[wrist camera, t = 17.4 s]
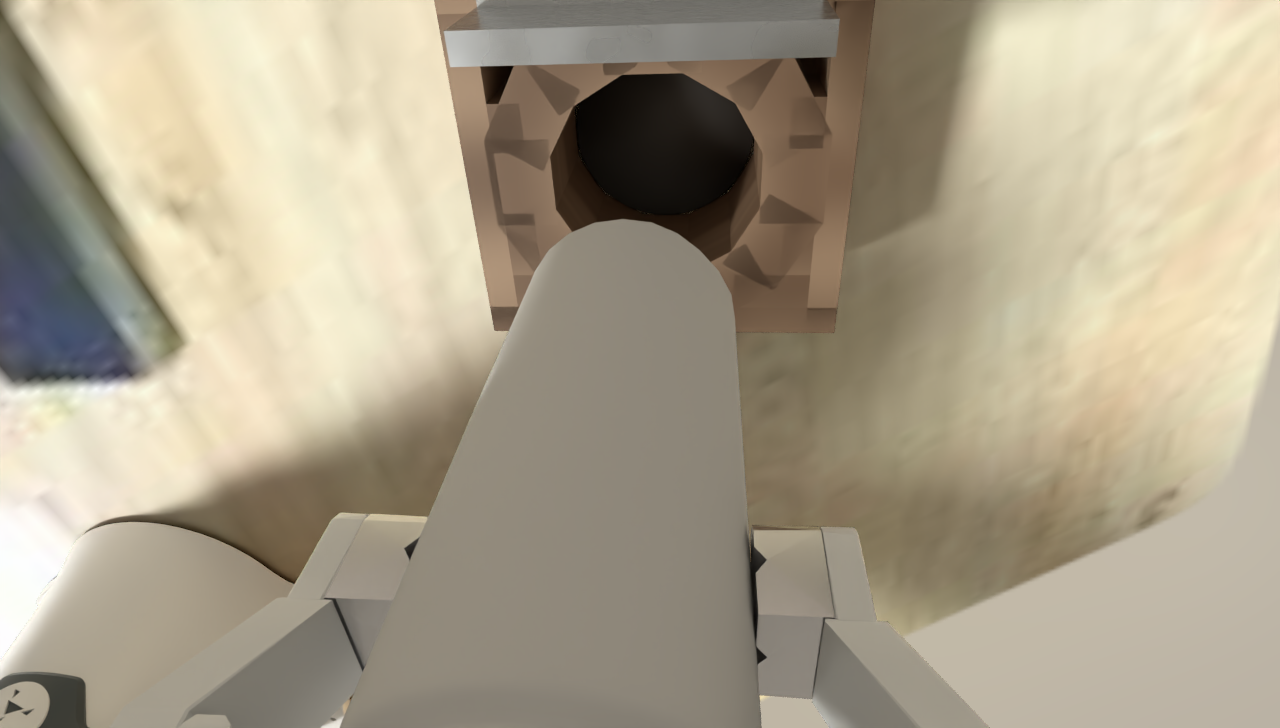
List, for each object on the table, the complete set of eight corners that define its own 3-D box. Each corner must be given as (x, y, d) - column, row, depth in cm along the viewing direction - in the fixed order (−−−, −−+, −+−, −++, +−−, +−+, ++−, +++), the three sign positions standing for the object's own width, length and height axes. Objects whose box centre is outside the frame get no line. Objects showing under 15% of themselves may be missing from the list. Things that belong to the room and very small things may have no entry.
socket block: (818, 265, 30) (834, 332, 26) (523, 265, 31) (494, 330, 27) (870, -249, 21) (907, -269, 17) (451, -223, 22) (391, -236, 18)
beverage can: (570, 405, 19) (428, 980, 9) (495, 239, 17) (197, 780, 7) (754, 366, 18) (813, 968, 8) (704, 182, 16) (703, 727, 6)
